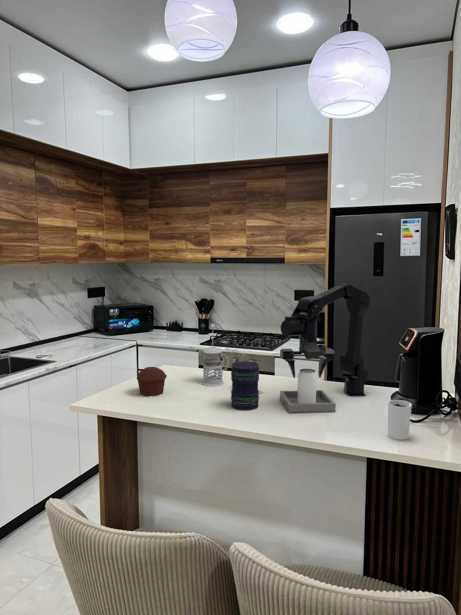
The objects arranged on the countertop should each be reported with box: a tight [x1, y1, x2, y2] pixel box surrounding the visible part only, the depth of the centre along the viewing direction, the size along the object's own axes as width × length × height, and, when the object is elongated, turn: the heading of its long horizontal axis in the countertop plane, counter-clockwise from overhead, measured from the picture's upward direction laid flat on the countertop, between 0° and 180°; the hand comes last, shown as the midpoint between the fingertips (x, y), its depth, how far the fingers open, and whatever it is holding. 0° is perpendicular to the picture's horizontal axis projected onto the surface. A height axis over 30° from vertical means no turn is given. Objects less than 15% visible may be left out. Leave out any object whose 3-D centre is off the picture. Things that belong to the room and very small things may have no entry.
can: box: [297, 368, 318, 404], centre depth 165 cm, size 6×6×12 cm
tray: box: [279, 389, 337, 414], centre depth 165 cm, size 16×16×3 cm
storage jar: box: [230, 361, 260, 411], centre depth 163 cm, size 10×10×15 cm
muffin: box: [136, 366, 168, 397], centre depth 179 cm, size 12×11×10 cm
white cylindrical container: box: [387, 399, 412, 441], centre depth 137 cm, size 7×7×10 cm
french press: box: [200, 323, 230, 388], centre depth 192 cm, size 10×12×25 cm
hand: (306, 377), depth 164 cm, fingers open, 9 cm apart
